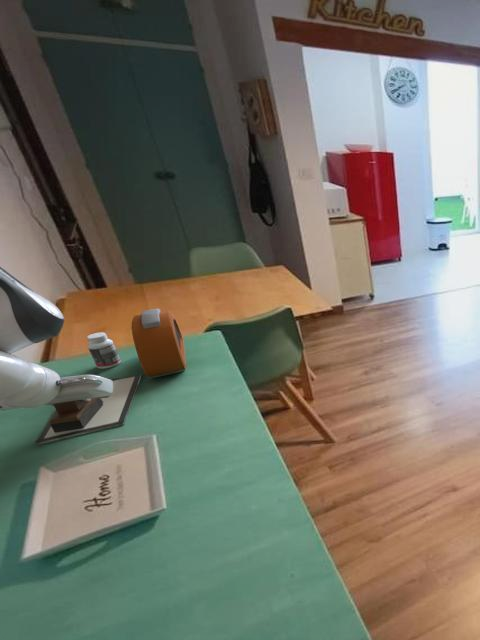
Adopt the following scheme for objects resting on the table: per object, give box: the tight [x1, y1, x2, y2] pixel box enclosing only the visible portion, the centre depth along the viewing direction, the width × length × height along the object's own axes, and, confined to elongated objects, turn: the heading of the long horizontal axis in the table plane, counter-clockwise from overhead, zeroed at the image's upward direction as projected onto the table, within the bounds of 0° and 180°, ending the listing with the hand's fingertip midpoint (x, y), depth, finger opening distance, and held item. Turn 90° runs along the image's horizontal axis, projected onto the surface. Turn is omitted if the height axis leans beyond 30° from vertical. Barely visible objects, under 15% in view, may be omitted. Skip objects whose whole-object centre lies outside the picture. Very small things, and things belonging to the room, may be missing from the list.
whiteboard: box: [34, 373, 143, 446], centre depth 105 cm, size 15×26×1 cm, turn 31°
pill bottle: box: [86, 332, 122, 370], centre depth 122 cm, size 5×5×10 cm
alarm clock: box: [131, 308, 187, 379], centre depth 122 cm, size 23×9×17 cm, turn 37°
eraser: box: [49, 397, 103, 433], centre depth 98 cm, size 10×5×9 cm, turn 21°
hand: (73, 400), depth 98 cm, fingers closed on eraser, 4 cm apart
